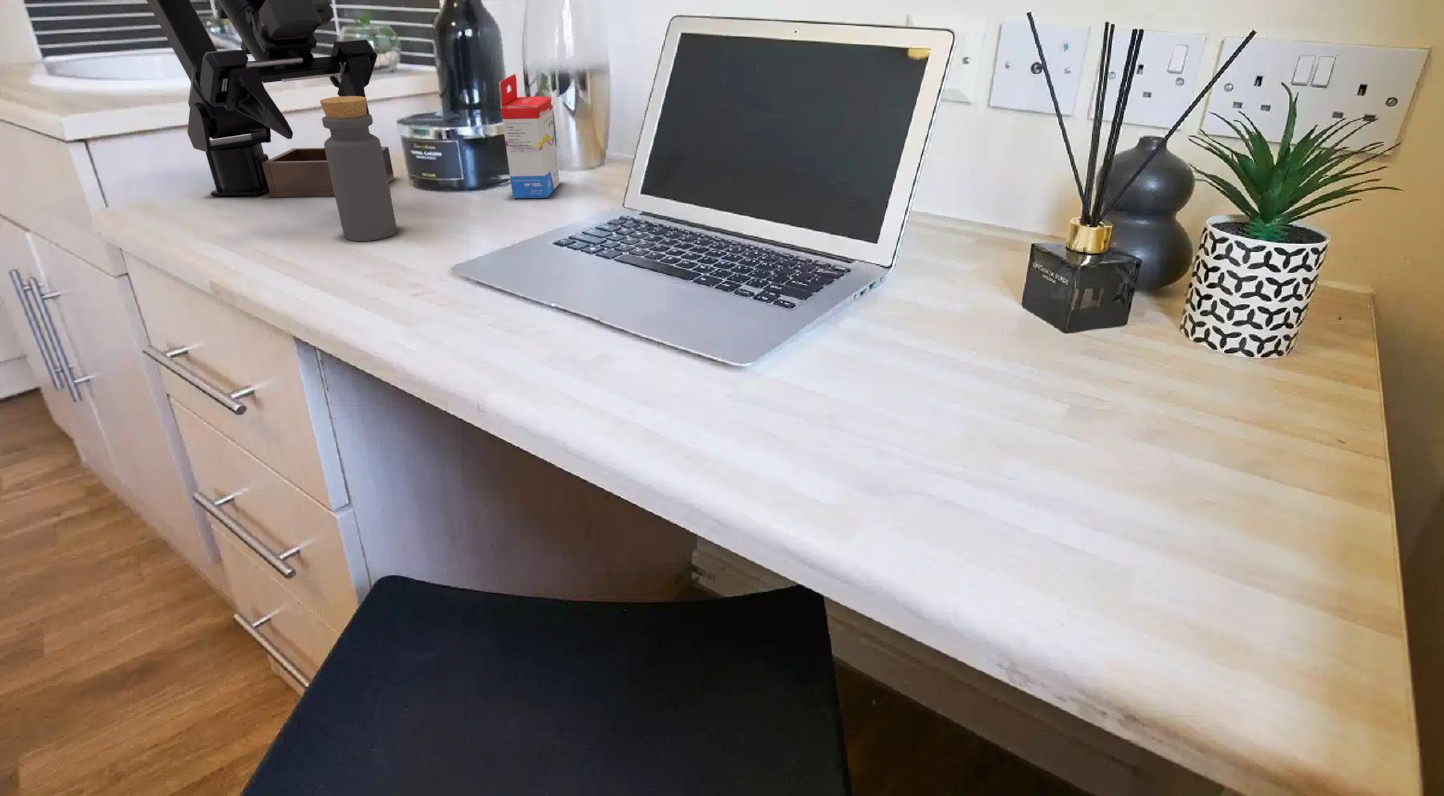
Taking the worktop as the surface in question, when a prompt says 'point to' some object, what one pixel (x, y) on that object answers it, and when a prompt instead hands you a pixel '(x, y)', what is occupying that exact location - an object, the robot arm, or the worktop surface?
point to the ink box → (529, 142)
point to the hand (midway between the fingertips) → (331, 130)
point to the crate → (305, 173)
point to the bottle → (357, 170)
